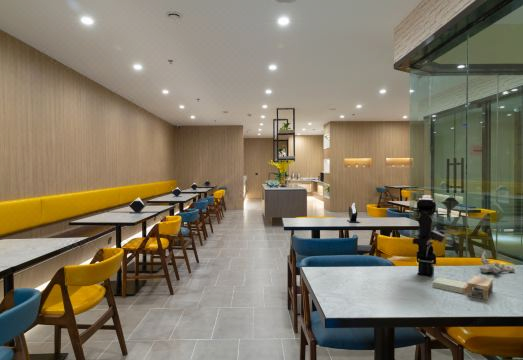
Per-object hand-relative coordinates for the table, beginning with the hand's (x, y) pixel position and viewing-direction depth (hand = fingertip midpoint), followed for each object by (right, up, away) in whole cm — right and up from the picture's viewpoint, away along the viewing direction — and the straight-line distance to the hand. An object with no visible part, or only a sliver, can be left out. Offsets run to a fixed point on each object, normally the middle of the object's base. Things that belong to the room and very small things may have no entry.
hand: (425, 257), depth 157 cm
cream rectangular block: (+8, -12, -8) cm, 17 cm away
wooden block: (+17, -12, -15) cm, 26 cm away
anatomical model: (+48, -13, +22) cm, 54 cm away
